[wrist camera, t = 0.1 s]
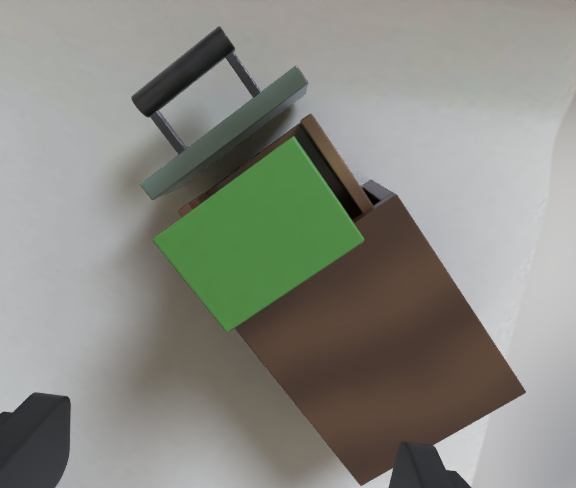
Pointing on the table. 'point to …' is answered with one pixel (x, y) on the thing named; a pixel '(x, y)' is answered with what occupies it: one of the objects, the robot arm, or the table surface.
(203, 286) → the tall green pillar block
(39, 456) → the robot arm
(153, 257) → the table surface
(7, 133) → the table surface
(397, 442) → the cabinet
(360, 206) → the drawer
